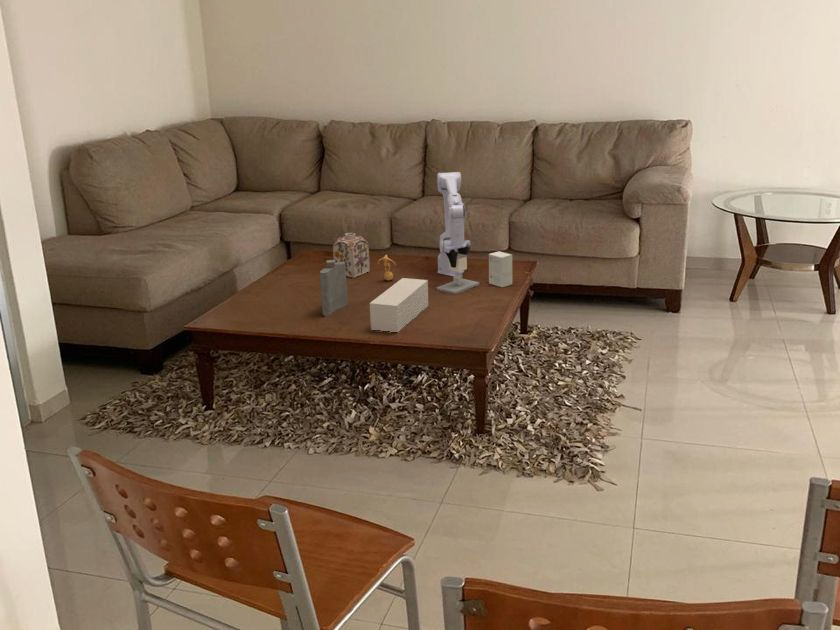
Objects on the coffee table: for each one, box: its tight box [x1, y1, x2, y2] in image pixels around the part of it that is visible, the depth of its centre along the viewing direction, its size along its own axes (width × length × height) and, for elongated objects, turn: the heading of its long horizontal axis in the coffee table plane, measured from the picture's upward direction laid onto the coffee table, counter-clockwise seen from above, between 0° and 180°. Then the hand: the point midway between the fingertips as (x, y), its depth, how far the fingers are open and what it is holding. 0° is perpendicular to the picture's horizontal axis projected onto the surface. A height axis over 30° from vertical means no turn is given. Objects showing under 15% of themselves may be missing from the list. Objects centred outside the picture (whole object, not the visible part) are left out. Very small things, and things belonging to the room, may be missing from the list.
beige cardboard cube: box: [449, 253, 468, 272], centre depth 366 cm, size 5×5×6 cm
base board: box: [436, 278, 480, 295], centre depth 370 cm, size 10×16×1 cm, turn 138°
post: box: [453, 272, 463, 286], centre depth 369 cm, size 3×3×5 cm
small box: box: [488, 250, 513, 288], centre depth 370 cm, size 8×6×13 cm
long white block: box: [369, 277, 429, 333], centre depth 335 cm, size 32×11×11 cm, turn 159°
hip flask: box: [319, 259, 349, 316], centre depth 344 cm, size 16×4×20 cm, turn 154°
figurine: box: [377, 254, 397, 281], centre depth 379 cm, size 8×6×12 cm
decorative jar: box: [332, 232, 371, 279], centre depth 391 cm, size 12×12×18 cm
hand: (457, 265), depth 367 cm, fingers closed on beige cardboard cube, 5 cm apart
